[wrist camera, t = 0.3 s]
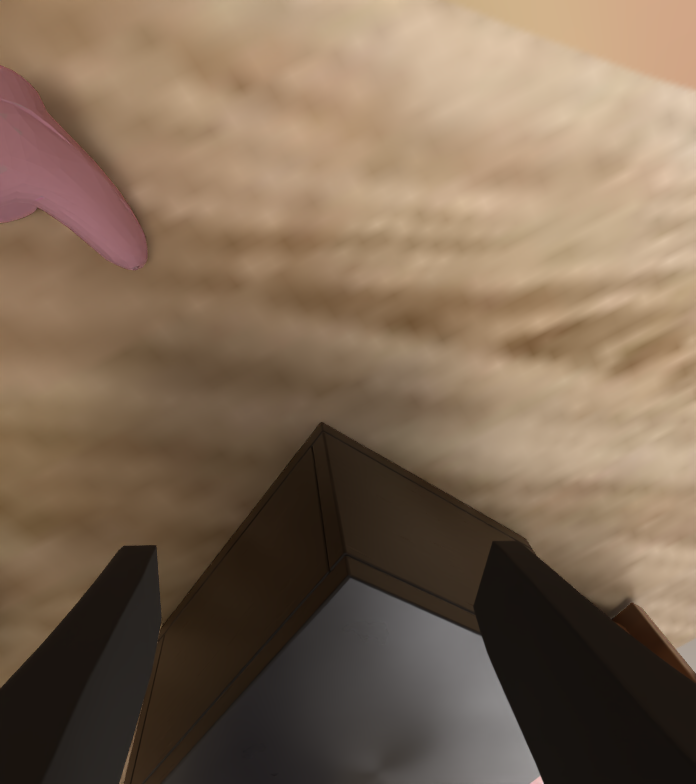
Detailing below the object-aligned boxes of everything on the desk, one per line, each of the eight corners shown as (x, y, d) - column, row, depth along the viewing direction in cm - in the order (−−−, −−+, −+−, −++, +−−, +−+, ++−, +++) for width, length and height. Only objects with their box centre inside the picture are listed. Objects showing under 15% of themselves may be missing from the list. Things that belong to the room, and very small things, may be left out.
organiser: (525, 538, 25) (635, 703, 17) (363, 697, 29) (396, 889, 21) (321, 420, 20) (349, 575, 13) (160, 628, 24) (108, 842, 17)
